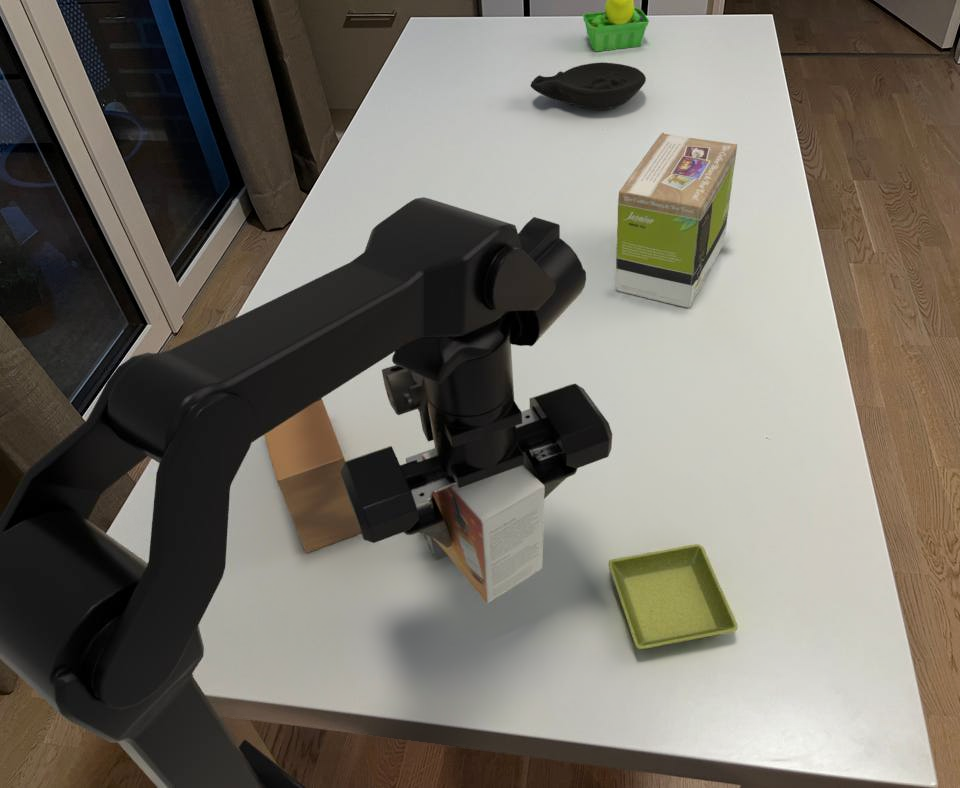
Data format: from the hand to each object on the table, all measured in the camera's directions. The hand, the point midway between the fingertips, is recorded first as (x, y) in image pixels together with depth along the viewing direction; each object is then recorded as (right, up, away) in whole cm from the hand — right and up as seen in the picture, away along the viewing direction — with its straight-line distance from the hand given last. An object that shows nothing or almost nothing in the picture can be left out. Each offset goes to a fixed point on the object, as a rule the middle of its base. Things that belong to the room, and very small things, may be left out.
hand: (485, 527), depth 62 cm
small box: (0, -3, +2) cm, 4 cm away
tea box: (+24, +27, +41) cm, 55 cm away
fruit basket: (+26, +78, +93) cm, 124 cm away
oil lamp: (+18, +61, +76) cm, 100 cm away
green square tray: (+16, -8, +7) cm, 19 cm away
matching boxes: (-17, +1, +20) cm, 26 cm away
